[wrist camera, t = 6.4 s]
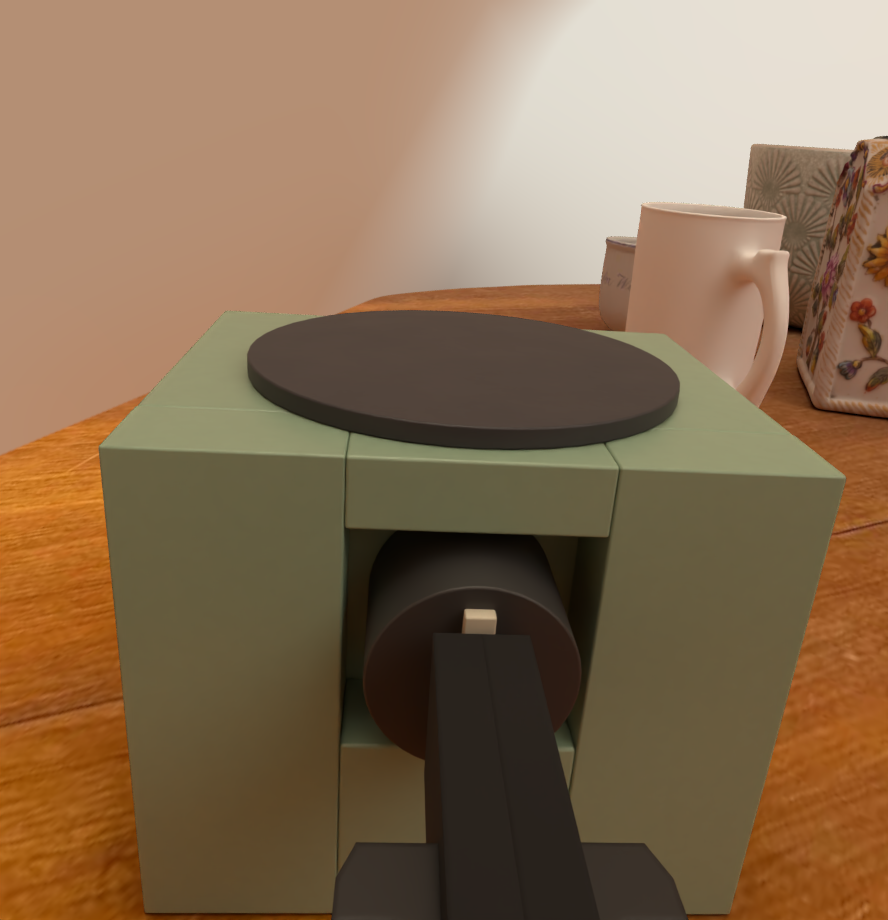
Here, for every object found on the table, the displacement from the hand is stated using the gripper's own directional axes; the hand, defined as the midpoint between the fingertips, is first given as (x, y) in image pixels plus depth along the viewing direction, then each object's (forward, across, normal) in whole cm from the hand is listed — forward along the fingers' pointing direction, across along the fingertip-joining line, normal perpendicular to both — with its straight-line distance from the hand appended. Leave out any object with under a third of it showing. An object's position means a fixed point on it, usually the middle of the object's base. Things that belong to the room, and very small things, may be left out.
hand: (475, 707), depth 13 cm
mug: (+29, +14, -6) cm, 32 cm away
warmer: (+7, 0, -6) cm, 9 cm away
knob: (+2, 0, -2) cm, 3 cm away
